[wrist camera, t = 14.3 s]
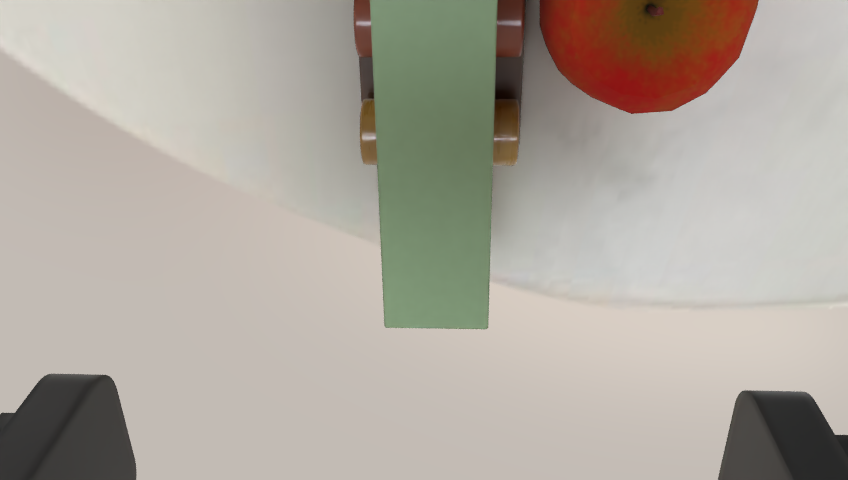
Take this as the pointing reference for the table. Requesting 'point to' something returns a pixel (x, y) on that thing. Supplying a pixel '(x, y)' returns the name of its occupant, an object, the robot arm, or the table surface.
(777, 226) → the table surface
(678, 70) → the apple
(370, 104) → the rod rack
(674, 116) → the table surface
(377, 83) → the bar
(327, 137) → the table surface
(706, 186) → the table surface
